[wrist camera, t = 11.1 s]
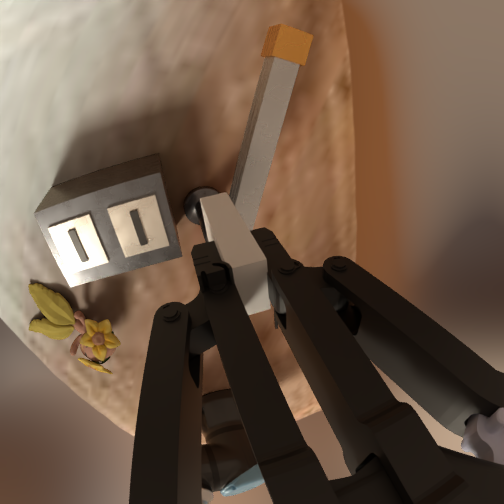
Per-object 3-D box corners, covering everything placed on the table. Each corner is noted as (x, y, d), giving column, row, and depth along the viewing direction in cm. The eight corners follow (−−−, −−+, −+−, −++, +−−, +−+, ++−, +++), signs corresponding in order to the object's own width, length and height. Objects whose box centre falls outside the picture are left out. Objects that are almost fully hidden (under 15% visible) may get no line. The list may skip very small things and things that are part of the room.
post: (225, 216, 40) (249, 265, 32) (188, 226, 39) (202, 278, 31) (219, 182, 37) (244, 224, 29) (180, 191, 36) (192, 238, 28)
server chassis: (176, 225, 39) (182, 259, 33) (79, 253, 36) (69, 290, 30) (158, 153, 33) (160, 174, 27) (51, 187, 30) (32, 215, 24)
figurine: (28, 278, 35) (84, 354, 31) (76, 263, 43) (135, 326, 39) (28, 333, 40) (79, 401, 36) (68, 316, 48) (120, 375, 44)
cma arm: (202, 272, 29) (207, 288, 27) (262, 25, 18) (274, 21, 16) (238, 273, 31) (244, 288, 29) (304, 39, 20) (319, 37, 18)
